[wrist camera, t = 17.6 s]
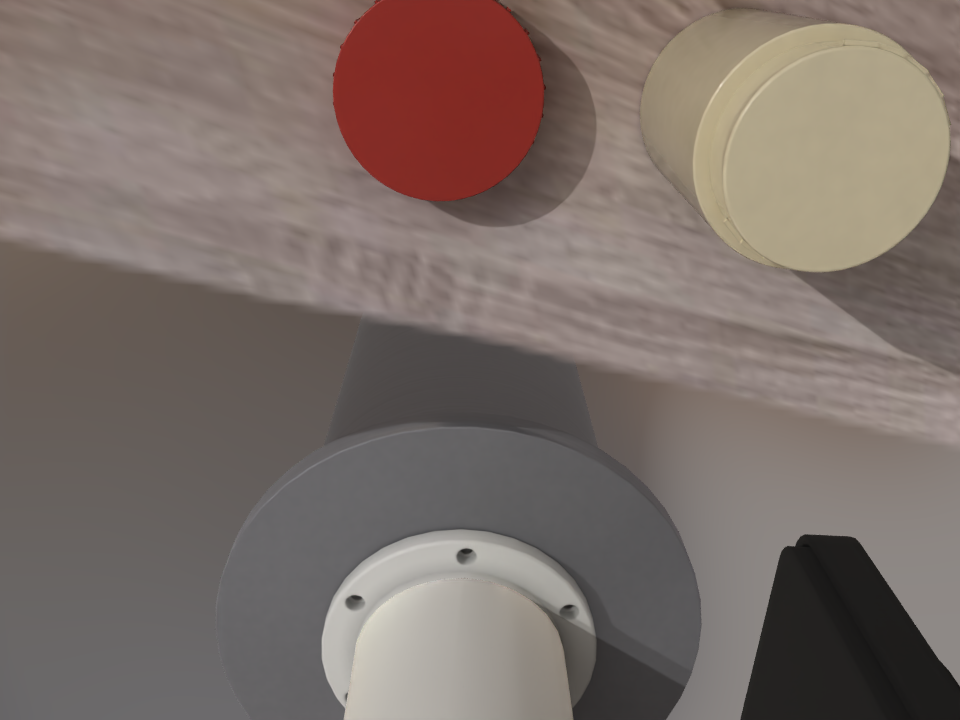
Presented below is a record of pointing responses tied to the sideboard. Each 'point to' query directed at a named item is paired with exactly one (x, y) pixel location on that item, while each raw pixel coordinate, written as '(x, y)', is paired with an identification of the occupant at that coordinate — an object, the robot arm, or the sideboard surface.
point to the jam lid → (438, 95)
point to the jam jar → (797, 136)
